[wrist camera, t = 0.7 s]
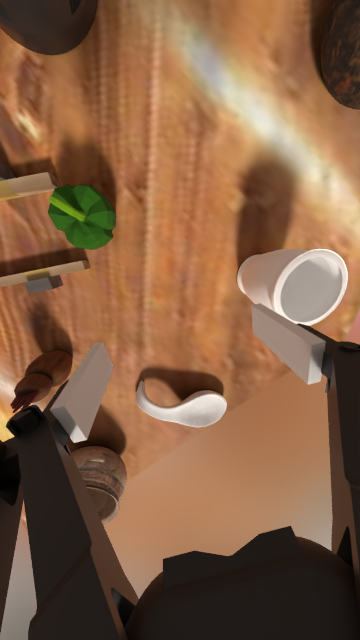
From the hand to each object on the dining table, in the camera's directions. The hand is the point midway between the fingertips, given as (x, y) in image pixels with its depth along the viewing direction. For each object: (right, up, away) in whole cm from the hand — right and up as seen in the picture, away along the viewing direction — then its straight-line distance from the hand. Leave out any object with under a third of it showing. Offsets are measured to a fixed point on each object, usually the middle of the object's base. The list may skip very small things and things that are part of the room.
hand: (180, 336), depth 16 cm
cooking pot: (-24, -38, +37) cm, 58 cm away
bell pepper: (-14, +19, +16) cm, 28 cm away
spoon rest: (0, -19, +33) cm, 38 cm away
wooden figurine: (-27, -7, +24) cm, 37 cm away
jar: (+16, +11, +22) cm, 29 cm away
